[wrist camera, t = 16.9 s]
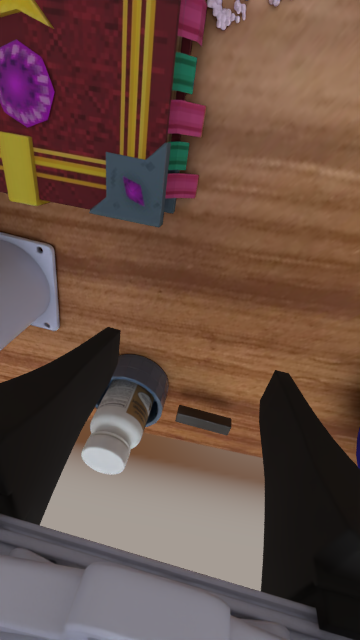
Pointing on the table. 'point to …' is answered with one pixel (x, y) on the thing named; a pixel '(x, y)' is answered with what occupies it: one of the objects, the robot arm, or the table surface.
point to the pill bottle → (117, 426)
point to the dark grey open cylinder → (143, 381)
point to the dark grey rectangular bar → (203, 420)
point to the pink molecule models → (225, 15)
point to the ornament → (358, 449)
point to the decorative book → (99, 104)
